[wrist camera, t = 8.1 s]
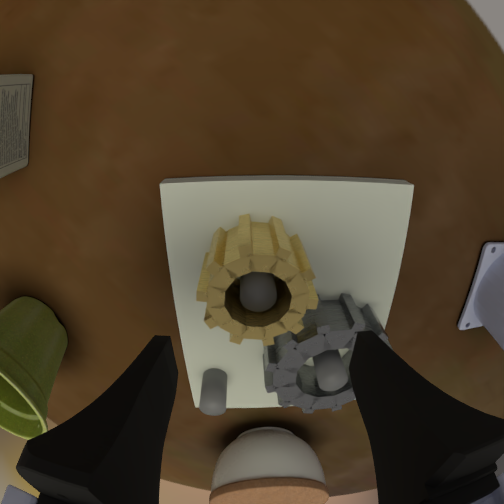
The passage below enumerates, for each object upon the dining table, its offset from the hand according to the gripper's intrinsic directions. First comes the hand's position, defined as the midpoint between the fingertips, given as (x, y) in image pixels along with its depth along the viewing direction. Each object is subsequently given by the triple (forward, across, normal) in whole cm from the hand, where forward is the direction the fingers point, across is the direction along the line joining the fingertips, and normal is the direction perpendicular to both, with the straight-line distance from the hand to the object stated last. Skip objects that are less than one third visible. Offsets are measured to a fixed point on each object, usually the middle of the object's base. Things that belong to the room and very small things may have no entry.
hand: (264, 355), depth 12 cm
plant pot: (+8, +18, +6) cm, 21 cm away
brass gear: (+7, 0, 0) cm, 7 cm away
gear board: (+8, -2, +4) cm, 9 cm away
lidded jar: (+9, -1, +21) cm, 23 cm away
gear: (+7, -4, +6) cm, 10 cm away
